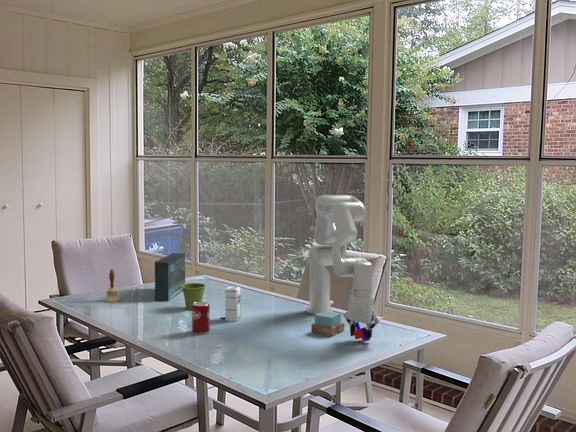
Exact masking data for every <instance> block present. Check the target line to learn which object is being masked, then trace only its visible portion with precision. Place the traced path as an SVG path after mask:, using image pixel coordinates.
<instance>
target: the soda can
mask: <svg viewBox="0 0 576 432" xmlns="http://www.w3.org/2000/svg"><path fill="white" fill-rule="evenodd" d="M210 306H211V305H210V303H209V302H207V301H202V302H196V303H193V304H192V309H191V331H192V333H193V334H195V335H205V334H208V333H209V332H210V329H211V328H210V326H211V325H210V321H211V320H210V317H211V316H210V314H211V313H210V312H211V311H210V310H211V307H210Z"/></svg>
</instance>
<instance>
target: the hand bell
mask: <svg viewBox="0 0 576 432" xmlns="http://www.w3.org/2000/svg"><path fill="white" fill-rule="evenodd" d="M108 273H109V276H108V277H109V282H110V285H109V286H110V288H109V289H107V292H106V296H105V298H104V299H103V302H105V303H117V302H120V301H122V300H121V298H120V297H119V296H118V291H117V289H116V288H115V285H114V284H115V283H114V282H115V277H116V275H115V272H114V269H110V271H109V272H108Z"/></svg>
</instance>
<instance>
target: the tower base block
mask: <svg viewBox="0 0 576 432" xmlns="http://www.w3.org/2000/svg"><path fill="white" fill-rule="evenodd" d="M310 329H311V332H312V334H316V333H317V335H321V334H322V336H326V335H327V337H331V338H333V337H334V336H335V337H336V336H337V335H339V334H341V333H343V331H344V332H345V322H342V321H341V323H339V324H337V325H336V326H334V327H327V326H321V325H316V324H315V322H314V323H312V324H311V328H310ZM336 334H337V335H336ZM332 336H333V337H332Z"/></svg>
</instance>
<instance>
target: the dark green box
mask: <svg viewBox="0 0 576 432" xmlns="http://www.w3.org/2000/svg"><path fill="white" fill-rule="evenodd" d="M183 284H186V253H180V252H179V253H178V252H177V253H176V252H173V253H170V254H169V255H166V256H165V257H162V258H160V259H158V260H156V261H154V302H170V301H171V300H172V299H174V298H175V297H177V296H178V295H180V294H181V293H182V292H183V289H182V287H181V285H183Z"/></svg>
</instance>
